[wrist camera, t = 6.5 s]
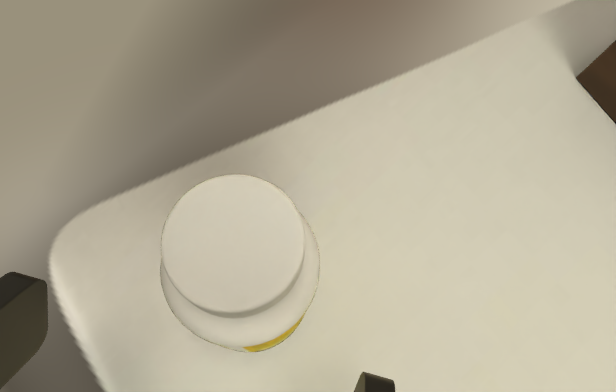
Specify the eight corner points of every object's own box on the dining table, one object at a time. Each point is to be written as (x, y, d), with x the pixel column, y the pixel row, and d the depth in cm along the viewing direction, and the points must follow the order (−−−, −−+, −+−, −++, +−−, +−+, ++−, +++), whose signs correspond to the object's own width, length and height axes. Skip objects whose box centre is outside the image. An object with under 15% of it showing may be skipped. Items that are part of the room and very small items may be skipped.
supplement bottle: (316, 249, 22) (346, 171, 13) (296, 362, 20) (314, 364, 11) (211, 229, 22) (166, 136, 13) (181, 340, 20) (102, 323, 11)
